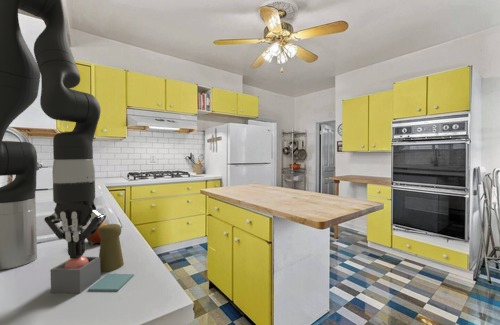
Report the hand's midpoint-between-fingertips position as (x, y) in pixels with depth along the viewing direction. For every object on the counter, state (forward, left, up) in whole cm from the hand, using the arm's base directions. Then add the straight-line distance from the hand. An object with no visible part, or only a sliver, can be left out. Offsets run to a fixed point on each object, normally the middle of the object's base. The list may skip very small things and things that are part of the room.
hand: (76, 256), depth 53 cm
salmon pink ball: (0, 0, -5) cm, 5 cm away
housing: (0, 0, -7) cm, 7 cm away
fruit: (-13, +27, -7) cm, 31 cm away
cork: (+2, +9, -7) cm, 12 cm away
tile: (+7, +1, -7) cm, 10 cm away
